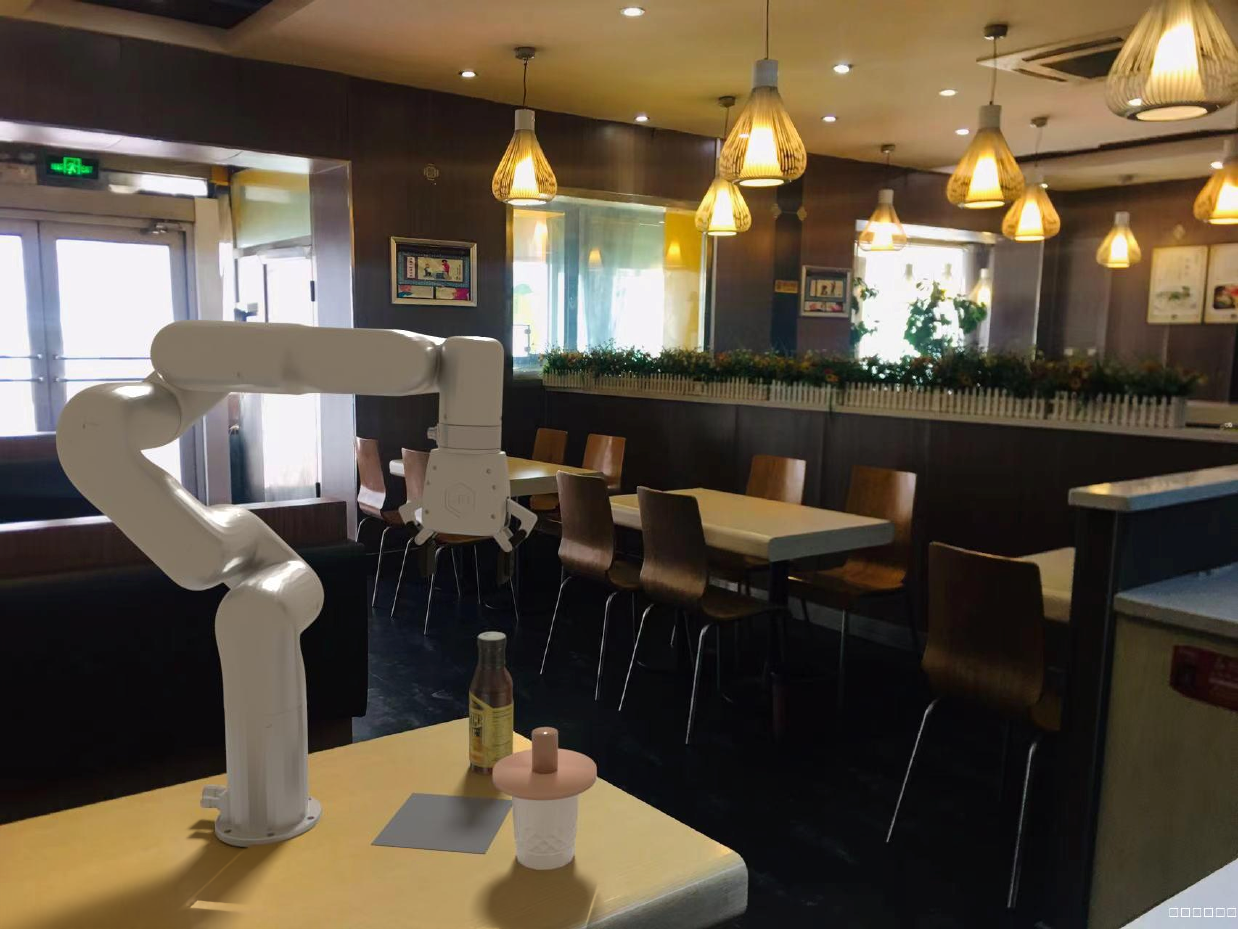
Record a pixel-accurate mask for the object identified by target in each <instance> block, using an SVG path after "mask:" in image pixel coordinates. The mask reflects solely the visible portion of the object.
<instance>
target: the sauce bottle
mask: <svg viewBox="0 0 1238 929" xmlns="http://www.w3.org/2000/svg"><path fill="white" fill-rule="evenodd" d="M476 645H477V647H478V653H477V654H478V656H477V658H478V662H477V666H476V669H475V672H474V676H473V678H472V680H471V683H470V687H469V691H468V693H469V694H468V759H469V763H470V764H469V767H470V770H471V771H473V772H474V773H477V774H479V775H489V776H490V775H493V768H494V766H495V764H496V763H497V762H498V761H499V760H501V759H502V758H504V757H506V756H508V755H511V754H513V753H514V752H513V751H514V698H513V696H514V695H513V692H514V691H513V690H514V689H513V688H514V687H513V686H514V683H513V678H512V676H511V674H510V672H509V671H508V670H507V668H506V647H507V646H506V645H507V636H506V634H505V633H503V632H501V631H500V632H498V631H485V632H482V633H480V634H479V635H478V636H477V640H476Z"/></svg>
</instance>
